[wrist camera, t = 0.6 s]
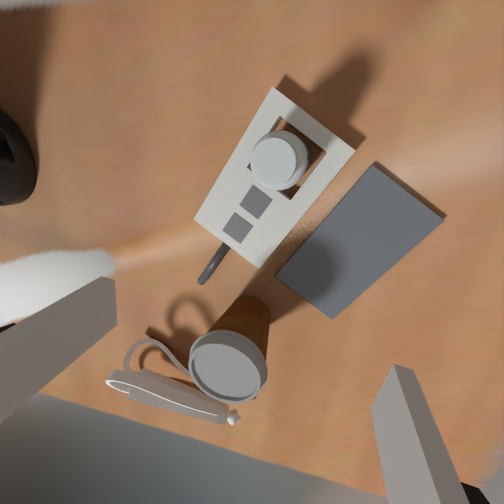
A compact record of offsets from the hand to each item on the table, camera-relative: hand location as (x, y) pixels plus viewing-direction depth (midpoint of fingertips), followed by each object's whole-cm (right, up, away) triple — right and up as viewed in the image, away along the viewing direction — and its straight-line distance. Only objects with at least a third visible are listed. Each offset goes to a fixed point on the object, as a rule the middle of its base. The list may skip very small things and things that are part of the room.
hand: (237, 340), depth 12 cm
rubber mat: (+13, +4, +21) cm, 25 cm away
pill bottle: (+5, +15, +19) cm, 25 cm away
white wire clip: (-11, -17, +36) cm, 41 cm away
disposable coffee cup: (0, -5, +28) cm, 28 cm away
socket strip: (0, +9, +22) cm, 24 cm away
